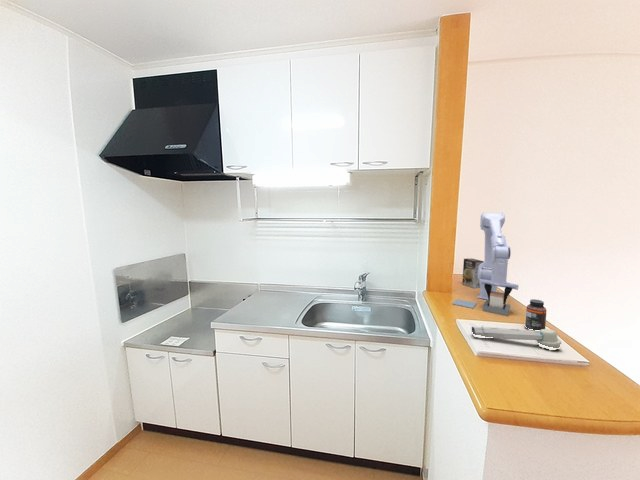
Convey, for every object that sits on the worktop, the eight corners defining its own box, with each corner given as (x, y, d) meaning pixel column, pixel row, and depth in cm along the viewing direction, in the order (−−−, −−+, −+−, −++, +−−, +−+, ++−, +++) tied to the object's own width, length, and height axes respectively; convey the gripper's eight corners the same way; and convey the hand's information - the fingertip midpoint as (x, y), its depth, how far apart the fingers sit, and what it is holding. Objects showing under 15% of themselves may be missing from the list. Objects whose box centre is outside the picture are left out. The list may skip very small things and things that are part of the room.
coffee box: (461, 284, 165) (463, 258, 163) (470, 283, 166) (471, 258, 165) (473, 288, 156) (475, 261, 154) (482, 287, 158) (484, 260, 156)
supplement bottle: (540, 327, 104) (543, 299, 102) (547, 334, 98) (550, 304, 97) (522, 325, 106) (524, 297, 104) (528, 331, 100) (531, 302, 99)
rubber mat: (456, 299, 136) (456, 298, 136) (477, 303, 130) (477, 302, 130) (452, 304, 129) (452, 303, 129) (473, 308, 124) (473, 307, 123)
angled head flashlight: (470, 323, 98) (555, 325, 89) (472, 341, 99) (557, 344, 89) (473, 329, 94) (563, 331, 84) (475, 347, 94) (564, 352, 85)
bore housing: (486, 305, 128) (486, 300, 128) (510, 309, 122) (510, 304, 122) (482, 310, 121) (482, 305, 121) (507, 316, 115) (508, 310, 115)
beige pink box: (490, 307, 125) (491, 291, 124) (503, 310, 122) (504, 293, 121) (489, 310, 121) (490, 293, 120) (502, 313, 118) (503, 295, 117)
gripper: (478, 271, 121) (477, 300, 123) (518, 276, 112) (515, 308, 113) (481, 269, 127) (479, 297, 128) (519, 273, 117) (517, 303, 119)
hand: (496, 302), depth 121 cm, fingers closed on beige pink box, 5 cm apart
